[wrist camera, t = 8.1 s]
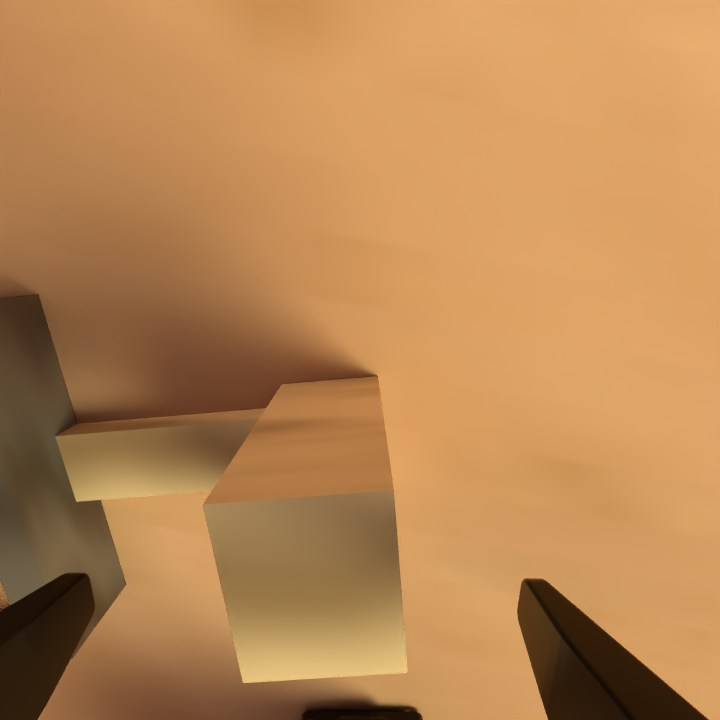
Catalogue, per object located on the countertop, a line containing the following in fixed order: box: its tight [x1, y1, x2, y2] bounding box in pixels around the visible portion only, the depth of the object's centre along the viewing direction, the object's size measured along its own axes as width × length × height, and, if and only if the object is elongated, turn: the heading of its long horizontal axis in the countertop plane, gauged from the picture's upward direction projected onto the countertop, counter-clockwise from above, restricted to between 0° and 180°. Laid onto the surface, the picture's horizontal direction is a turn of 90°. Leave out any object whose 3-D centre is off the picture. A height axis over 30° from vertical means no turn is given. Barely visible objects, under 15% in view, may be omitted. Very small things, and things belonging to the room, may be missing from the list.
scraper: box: [0, 295, 408, 683], centre depth 12 cm, size 14×15×8 cm
